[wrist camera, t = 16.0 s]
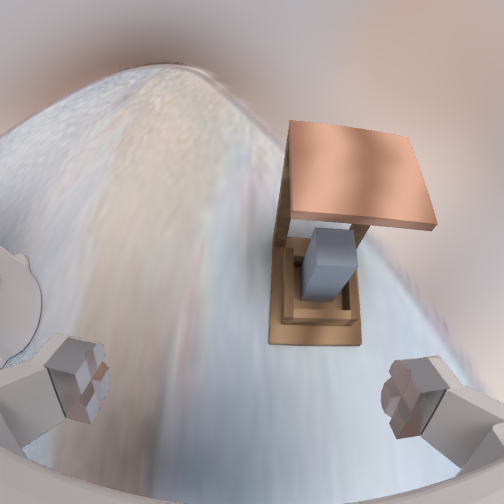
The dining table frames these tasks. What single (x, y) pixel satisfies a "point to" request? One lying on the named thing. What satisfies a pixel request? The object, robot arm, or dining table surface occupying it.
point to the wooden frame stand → (338, 219)
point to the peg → (327, 264)
